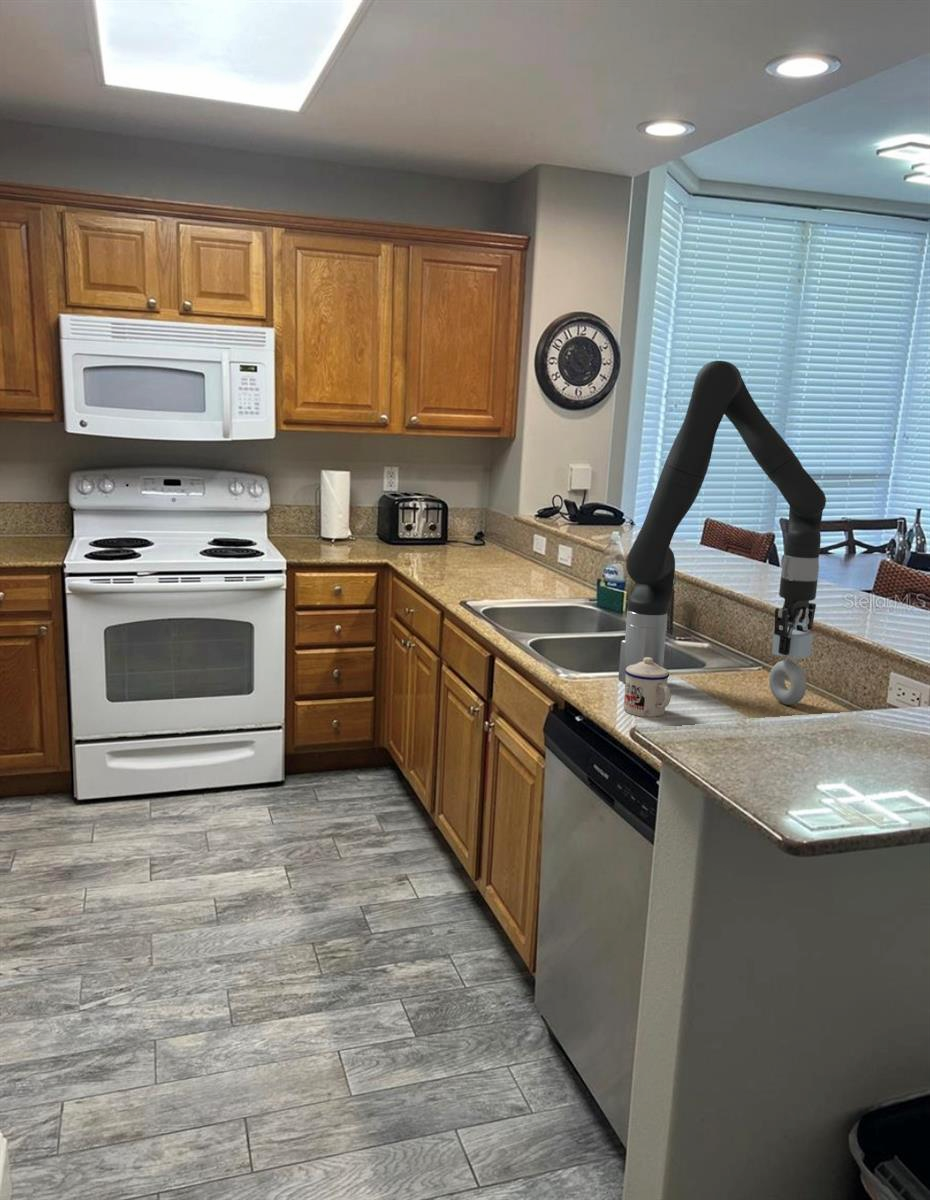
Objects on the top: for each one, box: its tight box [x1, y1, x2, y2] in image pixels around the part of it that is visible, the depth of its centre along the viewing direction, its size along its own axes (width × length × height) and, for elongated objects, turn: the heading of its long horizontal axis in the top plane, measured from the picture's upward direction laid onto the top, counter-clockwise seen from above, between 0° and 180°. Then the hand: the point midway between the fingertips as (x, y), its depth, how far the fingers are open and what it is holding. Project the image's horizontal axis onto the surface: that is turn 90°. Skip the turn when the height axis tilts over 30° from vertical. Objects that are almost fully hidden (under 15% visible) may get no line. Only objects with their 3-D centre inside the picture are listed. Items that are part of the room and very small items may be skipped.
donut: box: [768, 659, 808, 706], centre depth 203 cm, size 10×4×10 cm, turn 24°
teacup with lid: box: [623, 657, 672, 718], centre depth 193 cm, size 12×9×12 cm
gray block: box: [771, 629, 814, 661], centre depth 201 cm, size 6×6×5 cm
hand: (791, 651), depth 202 cm, fingers closed on gray block, 6 cm apart
